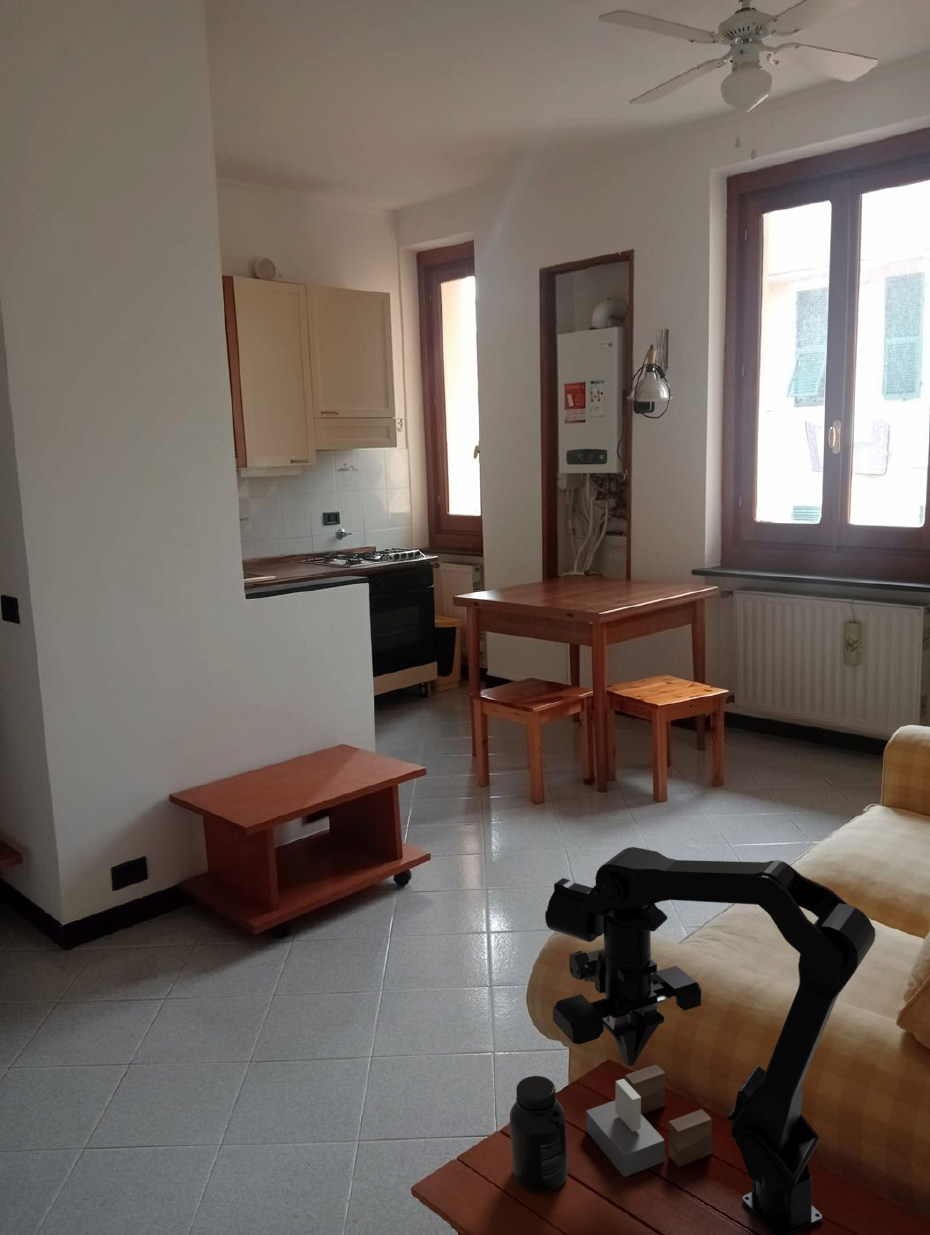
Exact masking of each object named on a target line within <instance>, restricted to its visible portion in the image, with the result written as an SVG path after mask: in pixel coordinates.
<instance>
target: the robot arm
mask: <svg viewBox="0 0 930 1235" xmlns="http://www.w3.org/2000/svg"><path fill="white" fill-rule="evenodd" d="M595 873H596V874H595V885H593V887H590V886H587V885H584V884H581V883H576V882H575V881H572V880H570V879H568V878H565V877H562V878H560V879H559V880H558V881H556V882H555V883H554V884H553V893H552V894H551V896H550V899H549V901H548V903H547V909H546V910H545V913H544V916H545V917H544V918H545V919H544V920H545V925H546V927H547V928H548V929H549V930H551V931H553V932H557V933H559V934H564V935H565V936H566V935H567V936H569V937H572V938H575V939H578V940H581V941H584V942H587V943H592V942H594V941H595V940H596V939H597V938H598V937H602V936H603V948H600V949H597V950H593V951H590V952H587V951H583V950H578V951H574V952H571V953H569V955H568V956H569V958H568V966H569V972H570V975H571V977H572V978H573V979H576V980H579V981H581V980H583V981H584V982H588V981H589V982H591V983H594V990H596V991H597V992H598V993H599V994H604V998H602V999H598V1000H595V1001H592V1002H590V1001H589V1000H588V999H587V998H586V997H585V996H584V995H583V994H582V993H581V994H580V993H579V994H577V995H573V996H570V997H566V998H563V999H560V1000H557V1001H556V1002H555V1003H554V1005H553V1007H552V1022H554V1024H556V1026H557V1027H558V1028H559V1029H560V1030H561V1031H562V1033H563V1034H564V1035H565V1036H566V1037H567V1038H568V1039H569V1041H570V1042H571V1043H572V1044H575V1045H582V1044H585V1043H590V1042H591V1041H594V1040H595V1041H596V1040H599V1038H600V1037H601V1035H602V1034H603V1032H604V1028H605V1029H606V1030H607V1031H608V1032H609V1033H610V1034H611V1035H612V1036H613V1038H614V1039H615V1042H616V1045H617V1047H618V1050H619V1052H620V1055H621V1058H622V1061H623V1062H624V1063H625V1065H626V1066H627V1067H631V1066H634V1065H635V1064H636V1062H637V1060H638V1058H639V1057H640V1055H641V1053H642V1051H643V1050H644V1048H645V1046H646V1045H647V1043H648V1041H649V1040H650V1038H651V1037H652V1035H653V1034H654V1033H655V1031H656V1030H657V1028H658V1027H659V1025H661V1024H663V1023H664V1022H665V1016H664V1015H663V1014H661V1013H660V1012H659V1007H658V1006H659V1005H658V1004H660V1003H661V1004H662V1003H663V1002H664V1003H665V1002H667V1001H670V1000H672V999H673V997H674V998H676V999H675V1000H676V1001H675V1004H676V1006H677V1007H678V1008H680V1009H681V1010H682V1011H685V1012H686V1011H688V1010H692V1009H693V1008H697V1007H700V1006H702V1003H703V990H702V987H701V986H700V983H699V982H697V981H696V980H695V979H694V978H692V977H691V976H690V975H688V974H687V973H686V972H685V971H684V970H683V969H681V968H680V967H678V966H677V965H673V966H670V967H667V968H663V969H661V970H658V964H657V963H656V962H655V961H654V960H653V959H652V953H651V952H652V951H651V949H652V947H651V945H652V943H651V942H652V940H651V939H652V938H651V936H652V934H651V932H655V931H657V930H658V929H659V927H661V926H662V925H663V924H664V923H665V922H666V921H667V920H668V915H667V914H665V912H664V911H663V910H662V909H660V908H659V907H657V905H656V904H658V903H660V902H665V901H684V902H699V903H700V902H702V903H703V902H704V903H721V904H737V905H755V906H756V905H758V906H759V907H760V908H762V910H763V911H765V912H766V913H767V914H768V915H769V916H770V918H771V919H772V921H773V923H774V925H775V926H776V927H777V929H778V931H779V932H780V934H781V935H782V937H783V938H784V940H785V941H786V942H787V944H789V945H790V946H791V947H792V948H794V950H796V951H797V952H798V954H799V959H798V967H797V970H798V979H799V981H798V982H799V983H798V987H797V991H796V992H795V995H794V999H792V1000H793V1001H792V1004H791V1006H790V1008H789V1011H788V1013H787V1016H786V1018H785V1022H784V1024H783V1025H782V1029H781V1031H780V1033H779V1037H778V1040H777V1042H776V1045H775V1047H774V1050H773V1052H772V1055H771V1057H770V1059H769V1063H768V1064H767V1068H766V1070H764V1069H763V1068H762V1067H761V1066H760V1065H757V1064H756V1066H755V1067H754V1069H753V1071H752V1072H751V1073H750V1074H749V1076H748V1078H747V1079H746V1080H745V1082H744V1083H743V1084H742V1086H741V1088H740V1089H739V1090H738V1092H737V1095H736V1099H735V1106H734V1108H733V1109H732V1110H731V1112H730V1113H729V1115H728V1116H727V1119H728V1121H732V1123H731V1125H730V1126H731V1127H730V1134H731V1138H732V1139H734V1142H735V1143H736V1145H737V1146H738V1148H739V1151H740V1154H741V1157H742V1160H743V1163H744V1165H745V1168H746V1171H747V1172H746V1173H747V1174H748V1178H750V1179H751V1189H752V1191H751V1192H748V1193H747V1194H745V1195H743V1196H742V1203H743V1204H744V1205H745V1206H746V1207H747V1208H748V1209H749V1210H750V1212H752V1214H753V1215H755V1217H756V1218H758V1220H759V1221H760V1222H761V1223H762V1224H763V1225H764V1226H765V1228H767V1230H769V1232H770V1233H771V1234H772V1235H794V1234H796V1233H798V1232H800V1231H803V1230H805V1229H807V1228H809V1227H812V1226H814V1225H816V1224H818V1223H820V1222H822V1221H823V1214H822V1213H820V1211H819V1210H818V1209H816V1208H815V1206H813V1176H812V1174H811V1173H809V1172H810V1171H809V1164H808V1162H809V1160H810V1158H811V1156H812V1155H813V1153H814V1151H815V1150H816V1147H817V1146H818V1143H819V1142H820V1139H821V1138H820V1136H819V1135H818V1133H817V1132H816V1131H815V1129H814V1128H813V1127H812V1126H811V1124H809V1122H808V1121H807V1119H806V1118H805V1117H804V1116H803V1114H802V1113H801V1112H802V1106H803V1102H804V1101H803V1100H804V1098H803V1090H802V1089H803V1088H802V1086H803V1082H804V1080H805V1078H806V1074H807V1072H808V1070H809V1067H810V1064H811V1062H812V1060H813V1058H814V1055H815V1053H816V1050H817V1048H818V1045H819V1043H820V1040H821V1038H822V1036H823V1033H824V1031H825V1029H826V1026H827V1023H828V1021H829V1019H830V1016H831V1013H832V1011H833V1008H834V1006H835V1004H836V1001H837V998H838V996H839V995H840V993H841V992H842V991H843V990H844V988H845V987H846V985H847V984H848V982H849V981H850V979H851V978H852V977H853V975H854V974H855V972H857V969H858V968H859V966H860V965H861V964H862V962H863V960H864V959H865V957H866V955H867V954H868V953H869V951H870V950H871V948H872V946H873V945H874V944H875V943H874V942H875V941H876V929H875V927H874V925H873V924H872V922H871V919H869V917H868V916H867V915H866V914H865V913H864V912H863V911H862V910H860V909H859V908H857V907H856V906H853V905H849V903H848V902H846V901H845V900H843V899H842V898H841V896H839V895H838V894H836V893H835V892H834V891H833V890H832V889H831V888H829V887H827V886H824V885H822V884H820V883H818V882H817V881H814V880H812V879H809V878H808V877H806V876H803V875H802V874H801V873H799V872H798V871H797V870H796V869H794V867H792V866H791V865H790V864H789V863H788V862H787V863H786V862H785V861H783V860H778V859H777V860H770V861H764V862H763V861H761V862H760V861H728V860H727V861H726V860H723V861H721V860H685V859H681V860H680V859H674V858H671V857H667V856H665V855H664V854H663V853H661V852H659V851H656V850H650V849H646V848H641V847H637V846H636V847H635V846H631V847H626V848H624V849H623V850H621V851H619V853H617V854H615V855H614V856H613V857H612V858H610V859H609V860H608V861H606V862H605V863H604V864H602V865H601V866H599V868H598V869H597V871H596V872H595ZM801 908H803V909H804V910H806V911H808V912H810V913H812V914H813V915H814V916H815V917H816V918H817V919H816V920H815V922H814V923H813V922H812V921H811V920H810V919H808V917H807V916H806V915H805V913H804V912H803V910H802V909H801Z"/></svg>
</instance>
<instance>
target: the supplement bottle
mask: <svg viewBox="0 0 930 1235" xmlns="http://www.w3.org/2000/svg"><path fill="white" fill-rule="evenodd" d="M515 1090H516V1091H515V1092H516V1097H515V1098H516V1099H515V1102H514V1103H513V1105H512V1107H511V1109H510V1112H509V1127H510V1141H511V1142H510V1144H511V1145H510V1146H511V1158H512V1160H511V1161H512V1173H513V1177H514V1179H515V1182H517V1184H518V1186H520V1187H521V1188H522V1189H523V1190H525V1191H527V1192H530V1193H534V1194H547V1193H551V1192H554V1191H556V1190H558V1189H559V1188H560V1187H561V1186H562V1185H563V1184H564V1183H565V1181H566V1180H567V1177H568V1173H569V1172H568V1171H569V1170H568V1147H567V1128H566V1126H567V1124H566V1114H565V1109H564V1107H563V1106H562V1104H561V1103H560V1102H559V1101H558V1100H557V1094H556V1091H557V1090H556V1086H555V1084H554V1082H553V1081H552V1080H550V1079H549V1078H547V1077H545V1076H542V1075H532V1076H527V1077H524V1078H523V1079H521V1081H519V1082H518V1083H517V1085H516V1089H515Z"/></svg>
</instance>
